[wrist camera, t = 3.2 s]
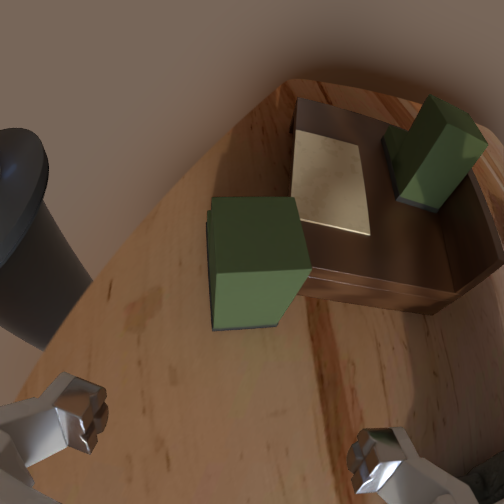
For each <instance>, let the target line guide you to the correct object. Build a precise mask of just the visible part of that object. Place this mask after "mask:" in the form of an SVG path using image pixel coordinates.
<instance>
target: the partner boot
mask: <svg viewBox="0 0 504 504" xmlns="http://www.w3.org/2000/svg"><path fill="white" fill-rule="evenodd" d="M381 143H382V147H383V150H384V154H385V158H386V162H387V166H388V170H389V174H390V178H391V182H392V187H393V191H394V196H395V201H398V202H401V203H404V204H408V205H411V206H414V207H417V208H420V209H423V210H427V211H430V212H433V213H437V212H438V211H439V209H440V207H441V206H442V205H443V203H444V202H445V201H446V200H447V199H448V197H449V196H450V195H451V194H452V192H453V191H454V190H455V189H456V187H457V186H458V185H459V184H460V182H461V181H462V180H463V178H464V177H465V176H466V175H467V173H468V172H469V171H470V169H471V168H472V167H473V165H474V164H475V163H476V161H477V160H478V159H479V157H480V156H481V154H482V153H483V152H484V150H485V149H486V148H487V146H488V143H487V141H486V140H485V138H484V137H483V135H482V133H481V132H480V130H479V129H478V127H477V126H476V124H475V123H474V121H473V120H472V118H471V117H470V115H469V114H468V113H466V112H464V111H462V110H460V109H459V108H457V107H455V106H453V105H451V104H449V103H447V102H445V101H443V100H441V99H439V98H437V97H435V96H433V95H431V94H429V96H428V97H427V99H426V101H425V103H424V105H423V107H422V109H421V111H420V113H419V115H418V116H417V118H416V120H415V122H414V124H413V126H412V127H411V129H410V131H409V132H407V131H405V130H402V129H399V128H397V127H394V126H391V125H389V126H388V128H387V130H386V132H385V134H384V135H383V136H382V138H381Z"/></svg>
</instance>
